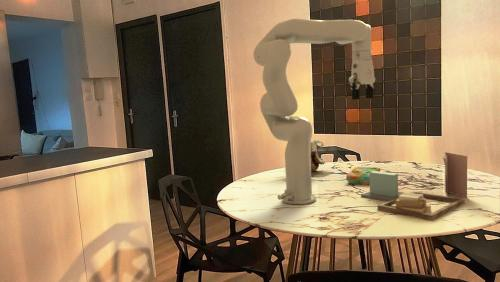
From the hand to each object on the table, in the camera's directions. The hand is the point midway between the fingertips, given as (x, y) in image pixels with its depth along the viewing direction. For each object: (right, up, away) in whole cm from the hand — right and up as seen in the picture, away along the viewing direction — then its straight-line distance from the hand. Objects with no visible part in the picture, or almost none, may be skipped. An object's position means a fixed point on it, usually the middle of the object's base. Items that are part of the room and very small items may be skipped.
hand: (362, 98), depth 168 cm
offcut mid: (+6, -38, -34) cm, 52 cm away
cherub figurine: (-16, -34, +35) cm, 51 cm away
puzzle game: (+5, -35, +16) cm, 39 cm away
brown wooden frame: (+12, -39, -30) cm, 51 cm away
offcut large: (+6, -41, -34) cm, 53 cm away
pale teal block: (+4, -37, -14) cm, 40 cm away
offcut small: (+6, -36, -35) cm, 51 cm away
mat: (+4, -38, -14) cm, 41 cm away
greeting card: (+29, -37, -17) cm, 50 cm away
